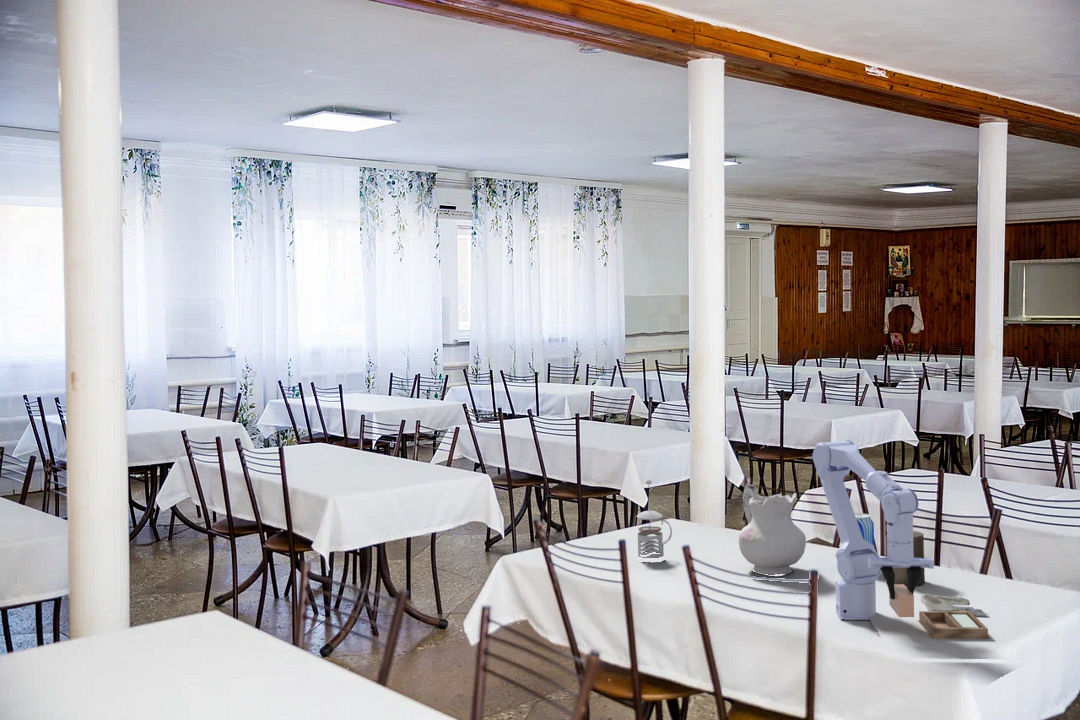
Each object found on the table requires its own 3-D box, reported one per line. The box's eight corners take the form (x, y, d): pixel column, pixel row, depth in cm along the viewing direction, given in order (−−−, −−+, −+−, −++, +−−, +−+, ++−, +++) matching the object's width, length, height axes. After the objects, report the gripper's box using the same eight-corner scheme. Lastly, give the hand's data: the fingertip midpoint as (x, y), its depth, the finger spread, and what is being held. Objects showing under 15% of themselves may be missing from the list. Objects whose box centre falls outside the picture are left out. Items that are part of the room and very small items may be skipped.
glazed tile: (963, 635, 235) (963, 627, 235) (951, 622, 245) (951, 614, 245) (978, 636, 235) (978, 627, 235) (966, 622, 245) (966, 614, 245)
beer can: (880, 570, 298) (879, 516, 297) (857, 574, 295) (856, 519, 294) (861, 564, 306) (860, 511, 305) (838, 568, 303) (837, 514, 302)
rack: (932, 641, 234) (931, 628, 234) (917, 623, 248) (917, 611, 248) (989, 642, 233) (989, 628, 233) (972, 623, 246) (972, 611, 246)
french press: (634, 556, 326) (631, 477, 325) (670, 555, 325) (668, 476, 324) (635, 563, 316) (633, 482, 315) (673, 562, 315) (671, 481, 314)
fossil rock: (918, 601, 269) (918, 592, 269) (979, 602, 266) (979, 593, 265) (929, 620, 252) (929, 611, 251) (995, 622, 248) (995, 613, 248)
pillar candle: (930, 586, 280) (929, 531, 280) (894, 587, 280) (893, 532, 280) (916, 577, 290) (916, 524, 289) (882, 578, 290) (881, 525, 289)
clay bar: (898, 617, 237) (898, 595, 236) (889, 604, 247) (889, 584, 246) (914, 617, 236) (913, 595, 236) (904, 605, 246) (903, 584, 246)
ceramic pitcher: (720, 573, 305) (714, 491, 302) (760, 556, 317) (754, 478, 315) (781, 587, 288) (776, 500, 286) (820, 568, 301) (815, 485, 299)
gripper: (871, 544, 238) (872, 602, 238) (936, 544, 236) (937, 603, 237) (865, 538, 245) (866, 594, 245) (929, 537, 243) (929, 594, 244)
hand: (901, 598), depth 242 cm, fingers closed on clay bar, 3 cm apart
